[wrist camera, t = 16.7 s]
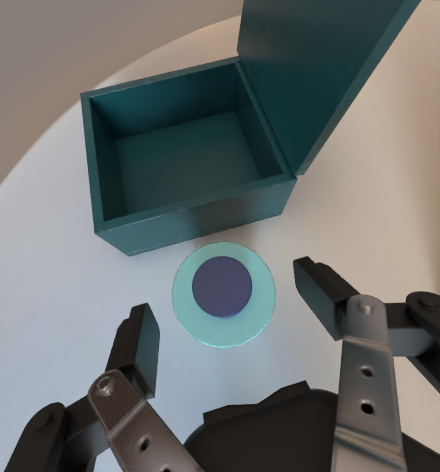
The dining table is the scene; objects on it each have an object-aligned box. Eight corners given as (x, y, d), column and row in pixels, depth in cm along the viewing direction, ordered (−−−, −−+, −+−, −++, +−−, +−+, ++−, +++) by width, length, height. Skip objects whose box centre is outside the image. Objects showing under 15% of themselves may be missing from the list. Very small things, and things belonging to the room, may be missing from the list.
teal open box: (128, 256, 23) (94, 233, 17) (111, 141, 28) (79, 93, 22) (281, 214, 24) (297, 178, 18) (238, 109, 29) (240, 55, 23)
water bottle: (203, 346, 20) (175, 369, 10) (188, 282, 22) (152, 245, 12) (266, 327, 21) (302, 330, 10) (246, 265, 22) (260, 216, 12)
